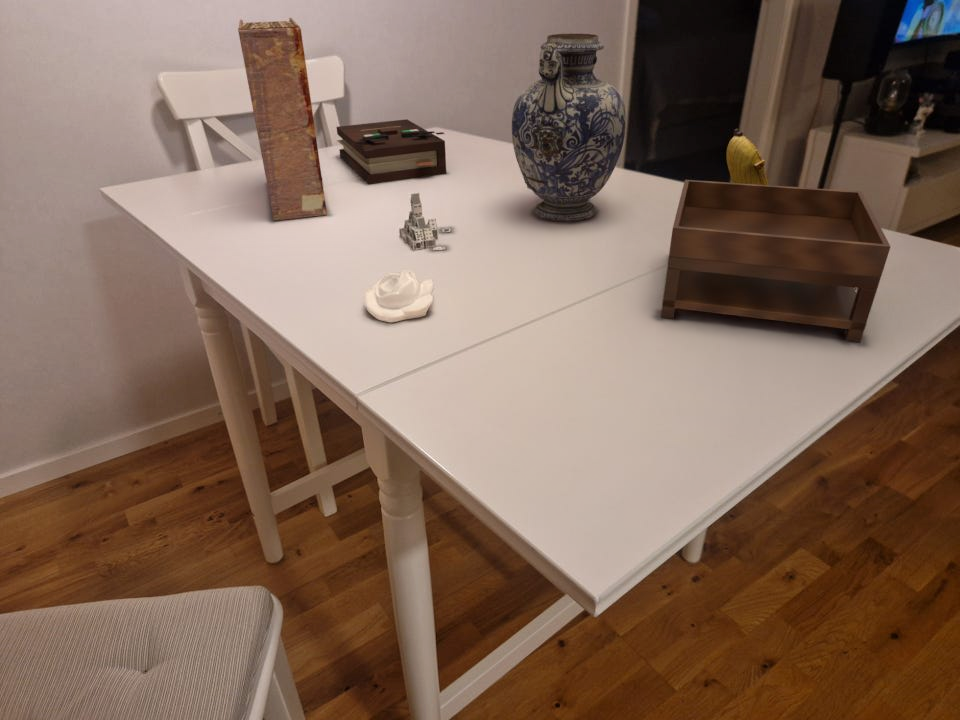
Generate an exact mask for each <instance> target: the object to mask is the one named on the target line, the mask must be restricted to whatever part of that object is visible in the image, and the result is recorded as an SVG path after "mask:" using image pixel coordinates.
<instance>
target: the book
mask: <svg viewBox="0 0 960 720" xmlns="http://www.w3.org/2000/svg"><path fill="white" fill-rule="evenodd" d="M288 19H289V20H281V21H280V20H279V21H277V20H276V21H255V22H253V21H252V22H244V21H243V19H239V23H238V27H237V31H238V38H239V43H240V47H241V53H242V58H243V63H244V68H245V74H246V79H247V85H248V90H249V95H250V101H251V106H252V111H253V112H252V113H253V116H254V122H255V127H256V133H257V137H258V142H259V148H260V153H261V159H262V164H263V170H264V176H265V180H266V186H267V191H268V196H269V201H270V202H269V203H270V206H271V212H272V213H271V214H272V218H273V221H274V222H275V221H283V220H292V219H300V218H301V219H302V218H311V217H319V216H327V215H328V213H327V212H328V211H327V206H326V205H327V204H326V198H325V191H324V184H323V177H322V169H321V163H320V156H319V149H318V141H317V134H316V127H315V119H314V114H313V113H314V112H313V106H312V99H311V92H310V85H309V78H308V70H307V69H308V68H307V64H306V63H307V62H306V57H305V56H306V55H305V49H304V41H303V35H302V29H301V26H299V24H298V23H297V22H296V21H295V20H294V19H293V17H289V18H288Z"/></svg>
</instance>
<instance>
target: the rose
mask: <svg viewBox="0 0 960 720" xmlns="http://www.w3.org/2000/svg"><path fill="white" fill-rule="evenodd" d="M433 291H434V281H433V279H432V278H428V279H427V278H426V279H425V280H424V281H422V282H421V281H420V279H419V278H418V276H417V275H416V273H414V272H413V271H411V270H408V269H402V270H399V272H398V273H394V272H390V273H386V274H385V275H384V276H383V277H381V278H380V279H378V281H377V282H375V283H374V284H373V285H372V286H371V288H370V289H369V290H367V291H365V292H364V297H363V298H364V306H365V309H366V310H367V312H368V313H369V314H371V316H373V317H374V318H375V319H377V320H378V321H382V322H386V323H398V322H400V321H404V320H405V321H406V320H411V319H416V318H422V317H425V316H426V315H427V311H428V310H429V308H430V307H431V306H432V304H433V301H434V296H433Z"/></svg>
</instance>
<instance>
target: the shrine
mask: <svg viewBox="0 0 960 720" xmlns="http://www.w3.org/2000/svg"><path fill="white" fill-rule="evenodd" d="M743 134H744V132H743V131H740V129H739V128H735V129H734V131H733V137H732V138H730V140H729V142H728V145H727V147H726V164H727V168H728V172H729V174H730V176H729V177H730V179H731V183H742V184H757V185H770V184H769V181H768V177H767V174H766V171H765V165H766V160H765V159H763V157H762V155H761V154H760V152H759V150H758V149H757V147H756V146H755V144H754V143H752V141H751V140H750V139H749V138H747V137H746V136H745V135H743Z"/></svg>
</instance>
